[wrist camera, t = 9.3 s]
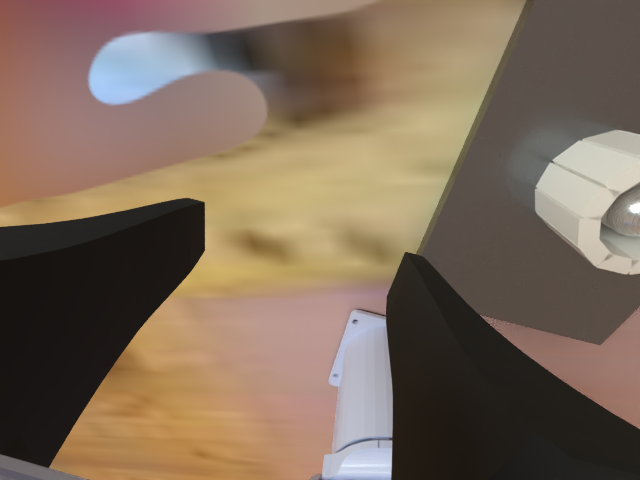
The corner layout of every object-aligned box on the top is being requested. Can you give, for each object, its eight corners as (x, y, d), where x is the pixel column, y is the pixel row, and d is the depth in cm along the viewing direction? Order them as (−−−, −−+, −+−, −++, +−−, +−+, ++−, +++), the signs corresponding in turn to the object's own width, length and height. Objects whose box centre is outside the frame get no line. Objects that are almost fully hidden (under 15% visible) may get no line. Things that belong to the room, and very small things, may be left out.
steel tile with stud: (590, 334, 21) (649, 402, 17) (402, 286, 22) (410, 341, 17) (929, -20, 11) (1293, -83, 7) (567, -94, 12) (687, -197, 7)
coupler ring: (691, 146, 14) (793, 168, 11) (611, 243, 17) (672, 285, 14) (575, 120, 14) (639, 133, 11) (515, 220, 17) (551, 256, 14)
